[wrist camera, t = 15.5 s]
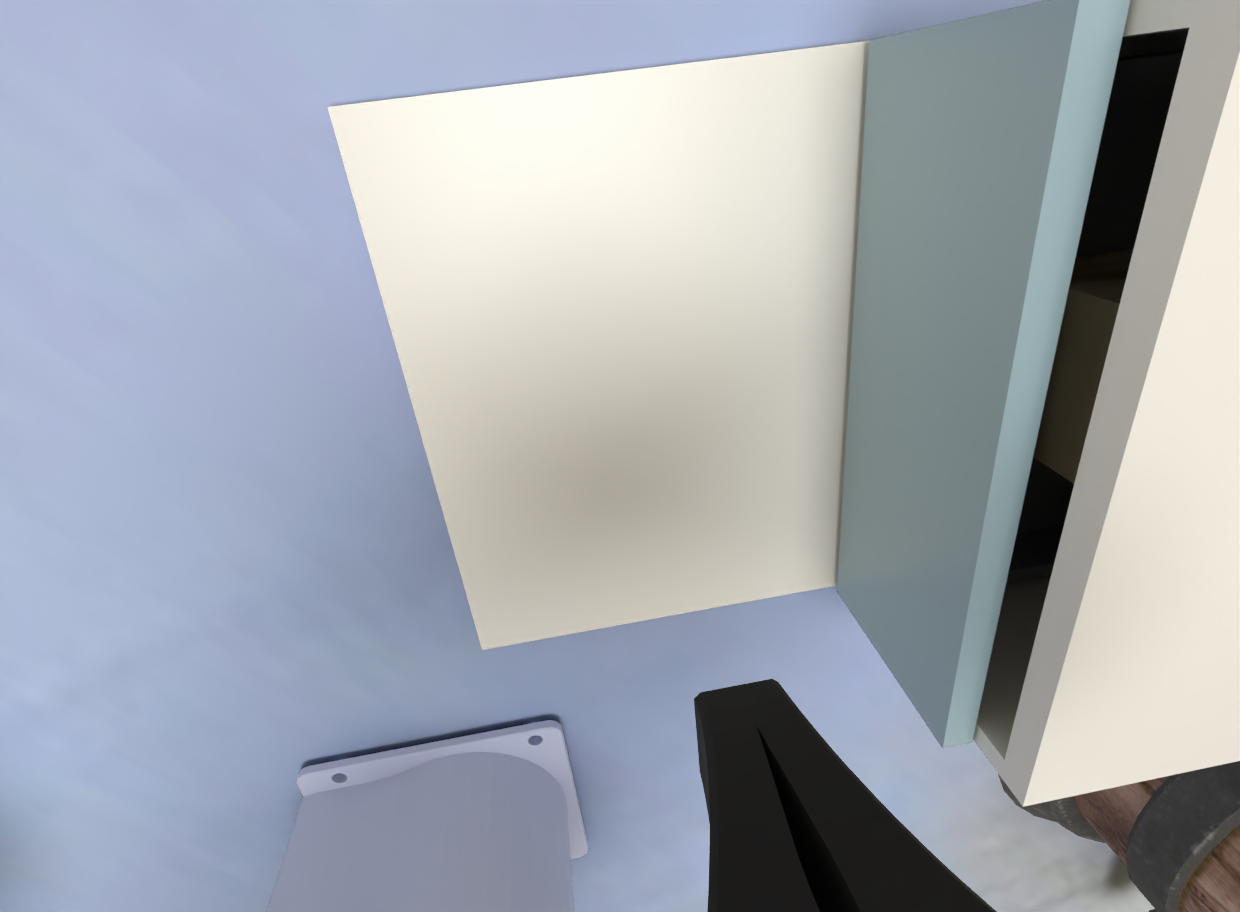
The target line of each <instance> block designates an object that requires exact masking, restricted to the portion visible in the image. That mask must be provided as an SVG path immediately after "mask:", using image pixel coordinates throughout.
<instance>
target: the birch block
mask: <svg viewBox="0 0 1240 912" xmlns="http://www.w3.org/2000/svg"><path fill="white" fill-rule="evenodd" d="M1133 249H1134V248H1133ZM1133 249H1127V250H1120V251H1114V252H1108V253H1101V254H1095V255H1088V256H1082V257H1076V258H1075V263H1074V267H1073V272H1072V277H1071V281H1070V286H1069V291H1068V295H1067V300H1066V305H1065V310H1064V314H1063V319H1062V324H1061V328H1060V333H1059V338H1058V342H1057V347H1056V352H1055V356H1054V361H1053V366H1052V371H1051V375H1050V380H1049V385H1048V389H1047V394H1046V399H1045V403H1044V408H1043V413H1042V417H1041V422H1040V427H1039V432H1038V436H1037V441H1036V446H1035V450H1034V455H1033V457H1034V458H1035V459H1037V460H1038V461H1040V462H1041V463H1043V464H1044V465H1046V466H1047V467H1049V468H1050V469H1052V470H1053V471H1055V472H1056V473H1058V474H1059V475H1061V476H1063V477H1064V478H1066V479H1067V480H1069V481H1070V482H1072V483H1073V484H1074V483H1075V479H1076V475H1077V471H1078V467H1079V463H1080V459H1081V455H1082V451H1083V447H1084V443H1085V439H1086V435H1087V431H1088V428H1089V424H1090V420H1091V416H1092V412H1093V408H1094V404H1095V400H1096V396H1097V392H1098V388H1099V384H1100V380H1101V376H1102V372H1103V368H1104V364H1105V360H1106V356H1107V352H1108V348H1109V344H1110V340H1111V336H1112V333H1113V329H1114V325H1115V321H1116V317H1117V313H1118V309H1119V305H1120V301H1121V297H1122V293H1123V289H1124V285H1125V281H1126V277H1127V273H1128V269H1129V265H1130V261H1131V257H1132V253H1133Z"/></svg>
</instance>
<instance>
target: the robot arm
mask: <svg viewBox="0 0 1240 912" xmlns="http://www.w3.org/2000/svg"><path fill="white" fill-rule="evenodd" d="M694 704H695V716H696V728H697V740H698V753H699V765H700V773H701V778H702V782H703V787H704V792H705V797H706V803H707V809H708V815H709V822H710V861H709V896H708V912H996V911H995V910H994V909H993V908H992V907H991V906H989V905H988V904H987V903H986V902H985V901H984V900H983V899H982V898H980V897H979V896H978V895H977V894H976V893H975V892H974V891H972V890H971V889H970V888H969V887H968V886H967V885H966V884H965V883H963V882H962V881H961V880H960V879H959V878H958V877H957V876H956V875H955V874H954V873H952V872H951V871H950V870H949V869H948V868H947V867H946V866H945V865H944V864H943V863H942V862H941V861H940V860H939V859H937V858H936V857H935V856H934V855H933V854H932V853H931V852H930V851H929V850H928V849H927V848H926V847H925V846H924V845H923V844H922V843H921V842H920V841H919V840H918V839H917V838H916V837H915V836H914V835H913V834H912V833H911V832H910V831H909V830H908V829H907V828H906V827H905V826H904V825H903V824H901V823H900V822H899V821H898V820H897V819H896V817H895V816H894V815H893V814H892V813H891V812H890V811H889V810H888V809H887V808H886V807H885V806H884V805H883V804H882V803H881V802H880V801H879V800H878V799H877V798H876V797H875V796H874V795H873V794H872V792H871V791H870V790H869V789H868V788H867V787H866V786H865V785H864V784H863V783H862V782H861V781H860V780H859V778H858V777H857V776H856V775H855V774H854V773H853V772H852V771H851V770H850V769H849V768H848V767H847V765H846V764H845V763H844V762H843V761H842V760H841V759H840V758H839V756H838V755H837V754H836V753H835V752H834V751H833V750H832V748H831V747H830V746H829V745H828V744H827V743H826V741H825V740H824V739H823V738H822V737H821V736H820V734H819V733H818V732H817V731H816V730H815V728H814V727H813V726H812V725H811V724H810V722H809V721H808V720H807V719H806V718H805V716H804V715H803V714H802V713H801V711H800V710H799V709H798V708H797V706H796V705H795V704H794V702H793V701H792V700H791V698H790V697H789V696H788V695H787V693H786V692H785V691H784V689H783V688H782V687H781V685H780V684H779V683H778V682H777V681H775V680H774V679H769V680H764V681H759V682H753V683H748V684H743V685H738V686H733V687H727V688H722V689H717V690H712V691H706V692H701V693H700V694H699V695H698V696H697V697H696V698H695V699H694ZM534 735H538V736H534ZM296 783H297V786H298V788H299V790H300V792H301V794H302V796H303V798H302V801H301V804H300V807H299V810H298V813H297V817H296V820H295V823H294V826H293V829H292V832H291V835H290V839H289V842H288V845H287V848H286V851H285V854H284V857H283V861H282V864H281V867H280V870H279V873H278V876H277V879H276V883H275V886H274V889H273V892H272V895H271V898H270V902H269V905H268V908H267V911H266V912H574V900H573V886H572V872H571V860H572V859H576V858H580V857H582V856H584V855H585V854H586V853H587V852H588V841H587V837H586V832H585V828H584V823H583V819H582V814H581V810H580V805H579V801H578V796H577V792H576V787H575V783H574V778H573V774H572V769H571V765H570V760H569V756H568V752H567V747H566V743H565V738H564V734H563V729H562V726H561V724H560V723H558V722H557V721H553V720H546V721H541V722H536V723H530V724H525V725H520V726H515V727H509V728H504V729H499V730H494V731H488V732H483V733H478V734H473V735H468V736H462V737H457V738H452V739H447V740H441V741H436V742H431V743H426V744H421V745H415V746H410V747H405V748H400V749H394V750H389V751H384V752H379V753H374V754H368V755H363V756H358V757H353V758H347V759H342V760H337V761H332V762H327V763H321V764H316V765H311V766H307V767H305V768H303V769H302V770H300V772H299V775H298V778H297V781H296Z"/></svg>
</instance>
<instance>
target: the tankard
mask: <svg viewBox="0 0 1240 912" xmlns="http://www.w3.org/2000/svg"><path fill="white" fill-rule="evenodd" d="M998 775H999V774H998ZM999 778H1000V781H1001V783H1002V786H1003V789H1004V791H1005V792H1006V793H1007V794H1008V796H1009V797H1010V798H1011V799H1012V800H1013V801H1014V803H1015V804H1016V805H1017V806H1019V807H1021V808H1022V809H1024V810H1026V811H1027V812H1029V813H1031V814H1032V815H1034V816H1037V817H1041V818H1044V819H1048V820H1051V821H1055V822H1058V823H1059V824H1060V825H1062V826H1063V827H1065V828H1066V829H1068V830H1070V831H1071V832H1073V833H1075V834H1076V835H1078V836H1081V837H1084V838H1088V839H1091V840H1095V841H1098V842H1103V843H1107V844H1108V845H1109V847H1110V848H1111V849H1112V850H1113V851H1114V852H1115V853H1116V855H1117V856H1118V857H1119V858H1120V859H1121V860H1122V862H1123V863H1124V864H1125V865H1126V866H1127V868H1128V873H1129V877H1130V879H1131V880H1132V881H1133V883H1134V884H1135V885H1136V887H1137V888H1138V889H1139V890H1140V892H1141V893H1142V894H1143V895H1144V896H1145V897H1146V898H1147V900H1148V901H1149V902H1150V903H1151V904H1152V905H1153V907H1154V908H1155V909H1153V910H1150V911H1149V912H1240V761H1237V762H1232V763H1227V764H1223V765H1218V766H1213V767H1208V768H1204V769H1199V770H1194V771H1190V772H1185V773H1180V774H1175V775H1171V776H1166V777H1161V778H1156V779H1152V780H1147V781H1142V782H1138V783H1133V784H1128V785H1123V786H1119V787H1114V788H1109V789H1104V790H1100V791H1095V792H1090V793H1086V794H1081V795H1076V796H1071V797H1067V798H1062V799H1057V800H1053V801H1048V802H1043V803H1038V804H1034V805H1029V806H1024V807H1023V806H1022V805H1021V804H1020V802H1019V801H1018V800H1017V798H1016V797H1015V796H1014V794H1013V793H1012V791H1011V790H1010V789H1009V787H1008V786H1007V785H1006V783H1005V782H1004V781H1003V779H1002V778H1001V776H1000V775H999Z"/></svg>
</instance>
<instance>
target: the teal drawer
mask: <svg viewBox="0 0 1240 912" xmlns="http://www.w3.org/2000/svg"><path fill="white" fill-rule="evenodd" d="M1129 5H1130V0H1046V1H1042V2H1037V3H1033V4H1029V5H1024V6H1020V7H1015V8H1011V9H1006V10H1002V11H997V12H993V13H988V14H984V15H979V16H975V17H970V18H966V19H962V20H957V21H953V22H948V23H944V24H939V25H935V26H930V27H926V28H921V29H917V30H912V31H908V32H903V33H899V34H895V35H890V36H886V37H881V38H877V39H872V40H869V53H868V70H867V87H866V104H865V121H864V138H863V155H862V172H861V189H860V206H859V223H858V240H857V257H856V275H855V292H854V309H853V326H852V343H851V360H850V377H849V394H848V411H847V428H846V445H845V462H844V479H843V496H842V514H841V531H840V548H839V565H838V582H837V592H838V594H839V595H840V597H841V598H842V600H843V601H844V603H845V604H846V606H847V607H848V609H849V610H850V612H851V613H852V615H853V616H854V618H855V619H856V621H857V622H858V624H859V625H860V627H861V628H862V630H863V631H864V633H865V634H866V635H867V637H868V638H869V640H870V641H871V643H872V644H873V646H874V647H875V649H876V650H877V652H878V653H879V655H880V656H881V658H882V659H883V661H884V662H885V664H886V665H887V667H888V668H889V670H890V671H891V673H892V674H893V676H894V677H895V679H896V680H897V681H898V683H899V684H900V686H901V687H902V689H903V690H904V692H905V693H906V695H907V696H908V698H909V699H910V701H911V702H912V704H913V705H914V707H915V708H916V710H917V711H918V713H919V714H920V716H921V717H922V719H923V720H924V722H925V723H926V725H927V726H928V727H929V729H930V730H931V732H932V733H933V735H934V736H935V738H936V739H937V741H938V742H939V744H940V745H941V747H942V748H947V747H952V746H957V745H962V744H967V743H972V741H973V736H974V732H975V727H976V722H977V718H978V713H979V708H980V704H981V699H982V694H983V689H984V685H985V680H986V675H987V671H988V666H989V661H990V657H991V652H992V647H993V643H994V638H995V633H996V629H997V624H998V619H999V614H1000V610H1001V605H1002V600H1003V596H1004V591H1005V586H1006V584H1010V583H1016V582H1021V581H1026V580H1032V579H1037V578H1042V577H1048V576H1051V574H1052V570H1053V566H1054V562H1055V558H1056V554H1057V550H1058V546H1059V542H1060V538H1061V534H1062V530H1063V526H1064V523H1065V519H1066V515H1067V511H1068V507H1069V503H1070V499H1071V495H1072V491H1073V487H1074V484H1073V483H1072V482H1070V481H1069V480H1067V479H1066V478H1064V477H1063V476H1061V475H1059V474H1058V473H1056V472H1055V471H1053V470H1052V469H1050V468H1049V467H1047V466H1046V465H1044V464H1043V463H1041V462H1040V461H1038V460H1037V459H1035V458H1034V457H1033V455H1034V450H1035V446H1036V441H1037V436H1038V432H1039V427H1040V422H1041V417H1042V413H1043V408H1044V403H1045V399H1046V394H1047V389H1048V385H1049V380H1050V375H1051V371H1052V366H1053V361H1054V356H1055V352H1056V347H1057V342H1058V338H1059V333H1060V328H1061V324H1062V319H1063V314H1064V310H1065V305H1066V300H1067V295H1068V291H1069V286H1070V281H1071V277H1072V272H1073V267H1074V263H1075V258H1076V257H1082V256H1088V255H1095V254H1101V253H1108V252H1114V251H1120V250H1127V249H1133V248H1134V245H1135V241H1136V238H1137V234H1138V230H1139V226H1140V222H1141V218H1142V214H1143V210H1144V206H1145V202H1146V198H1147V194H1148V190H1149V186H1150V182H1151V178H1152V174H1153V170H1154V166H1155V162H1156V158H1157V154H1158V150H1159V146H1160V143H1161V139H1162V135H1163V131H1164V127H1165V123H1166V119H1167V115H1168V111H1169V107H1170V103H1171V99H1172V95H1173V91H1174V87H1175V83H1176V79H1177V75H1178V71H1179V67H1180V63H1181V59H1182V55H1183V51H1184V50H1180V51H1172V52H1164V53H1157V54H1149V55H1141V56H1133V57H1125V58H1118V56H1119V52H1120V47H1121V42H1122V38H1123V33H1124V28H1125V23H1126V19H1127V14H1128V9H1129Z"/></svg>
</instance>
